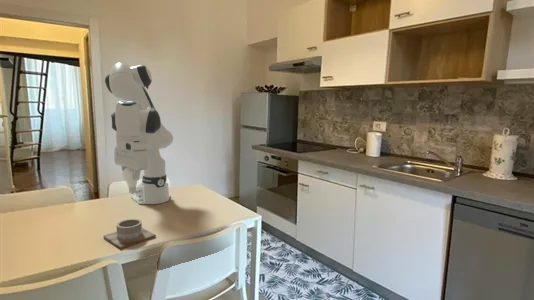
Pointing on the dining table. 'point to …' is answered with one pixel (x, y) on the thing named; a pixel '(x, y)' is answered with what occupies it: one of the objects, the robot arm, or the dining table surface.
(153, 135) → the robot arm
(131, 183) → the lightbulb
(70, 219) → the dining table surface
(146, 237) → the socket base
